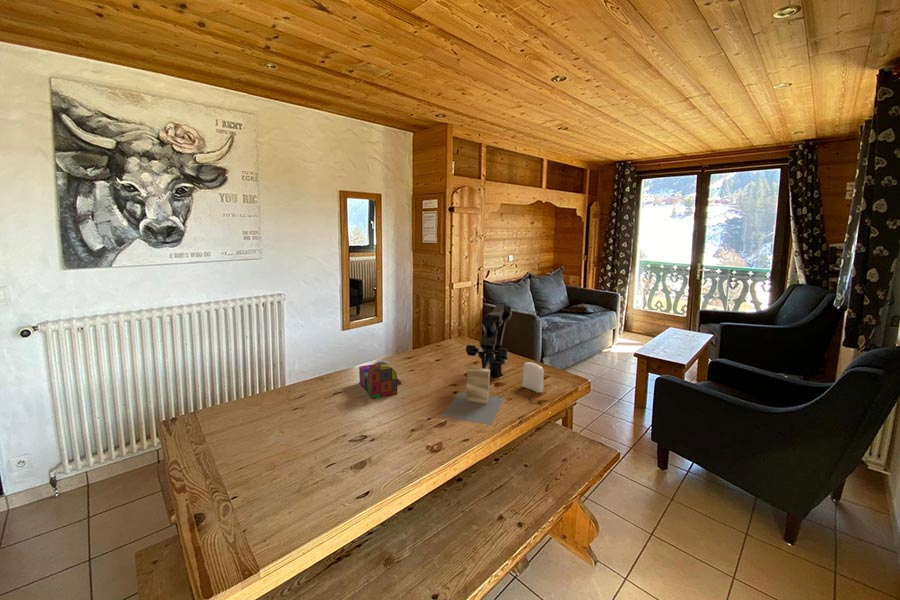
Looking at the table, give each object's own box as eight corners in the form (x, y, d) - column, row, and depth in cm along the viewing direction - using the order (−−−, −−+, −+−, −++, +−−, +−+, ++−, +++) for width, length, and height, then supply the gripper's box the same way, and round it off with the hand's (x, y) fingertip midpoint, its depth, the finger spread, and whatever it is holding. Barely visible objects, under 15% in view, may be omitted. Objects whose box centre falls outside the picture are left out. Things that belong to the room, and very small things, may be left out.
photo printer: (520, 386, 189) (522, 361, 187) (526, 384, 192) (528, 359, 189) (538, 394, 181) (539, 367, 179) (544, 391, 184) (546, 365, 182)
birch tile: (468, 397, 175) (469, 366, 172) (489, 400, 172) (490, 369, 169) (466, 400, 172) (467, 369, 169) (487, 403, 169) (488, 372, 166)
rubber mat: (459, 393, 181) (459, 391, 180) (503, 400, 174) (503, 398, 174) (441, 418, 158) (441, 416, 158) (491, 426, 152) (491, 424, 152)
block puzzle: (408, 392, 182) (408, 362, 179) (371, 399, 174) (371, 368, 171) (390, 373, 203) (389, 346, 201) (356, 379, 196) (355, 351, 193)
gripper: (467, 327, 183) (459, 358, 174) (508, 331, 177) (502, 363, 169) (471, 339, 192) (464, 369, 183) (510, 343, 186) (505, 375, 178)
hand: (483, 369), depth 178 cm, fingers closed
